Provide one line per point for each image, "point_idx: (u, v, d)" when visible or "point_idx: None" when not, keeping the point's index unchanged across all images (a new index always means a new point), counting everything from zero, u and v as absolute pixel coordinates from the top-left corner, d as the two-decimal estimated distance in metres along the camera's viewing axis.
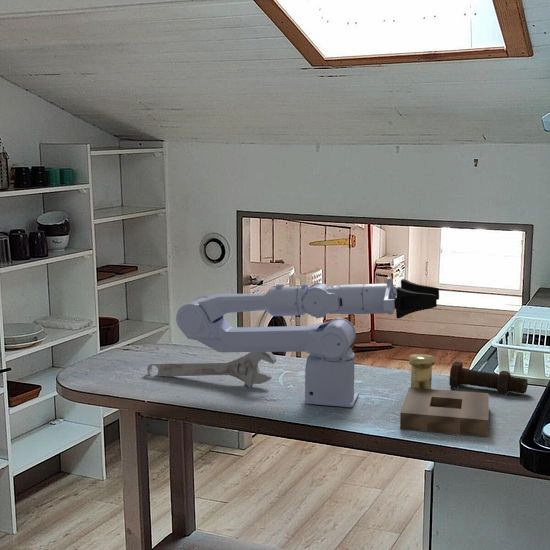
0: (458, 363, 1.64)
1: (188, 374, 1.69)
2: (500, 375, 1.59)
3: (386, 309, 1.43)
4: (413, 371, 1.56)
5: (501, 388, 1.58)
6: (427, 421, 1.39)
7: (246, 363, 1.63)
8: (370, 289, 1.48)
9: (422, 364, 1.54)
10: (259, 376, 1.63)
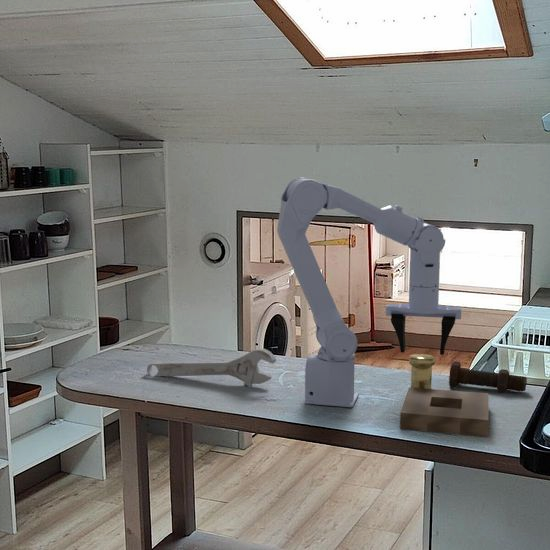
0: (457, 363, 1.64)
1: (188, 374, 1.69)
2: (500, 374, 1.60)
3: None
4: (413, 371, 1.56)
5: (501, 387, 1.59)
6: (427, 421, 1.39)
7: (246, 363, 1.64)
8: None
9: (422, 364, 1.54)
10: (258, 375, 1.63)
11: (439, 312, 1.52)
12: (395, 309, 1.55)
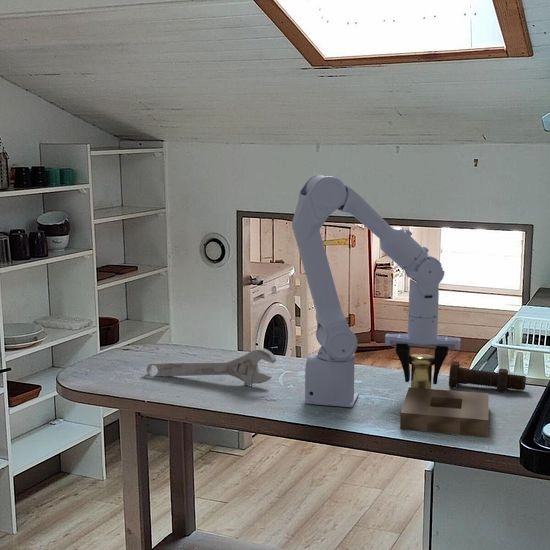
0: (456, 363, 1.64)
1: (188, 374, 1.69)
2: (500, 373, 1.60)
3: (459, 342, 1.54)
4: (413, 371, 1.56)
5: (501, 386, 1.60)
6: (427, 421, 1.39)
7: (246, 363, 1.64)
8: None
9: (422, 364, 1.54)
10: (258, 375, 1.63)
11: (438, 343, 1.53)
12: (394, 339, 1.56)
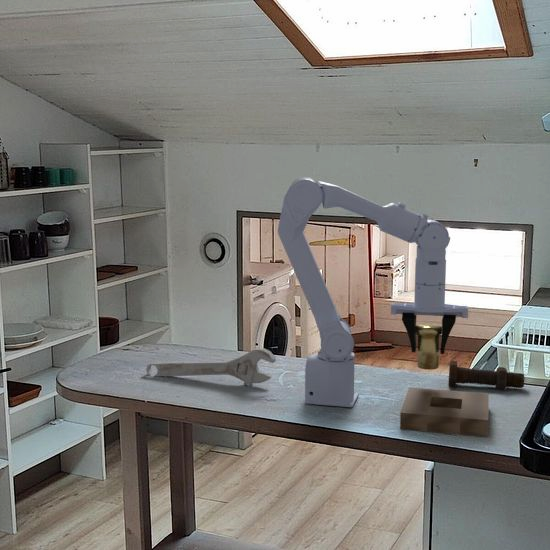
0: (455, 362, 1.64)
1: (187, 374, 1.69)
2: (499, 371, 1.61)
3: None
4: (420, 341, 1.52)
5: (501, 384, 1.61)
6: (427, 421, 1.39)
7: (246, 363, 1.64)
8: None
9: (429, 333, 1.50)
10: (258, 375, 1.64)
11: (446, 311, 1.49)
12: (401, 308, 1.52)
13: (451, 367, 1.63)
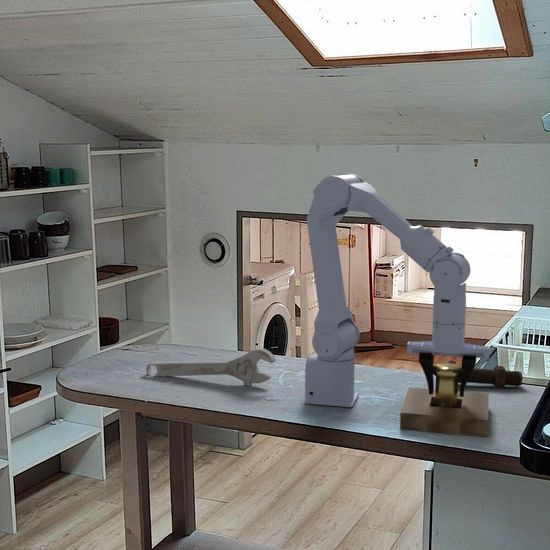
0: (453, 362, 1.65)
1: (187, 374, 1.69)
2: (498, 370, 1.62)
3: None
4: (438, 383, 1.43)
5: (500, 383, 1.62)
6: (427, 421, 1.39)
7: (245, 363, 1.64)
8: None
9: (448, 376, 1.42)
10: (258, 375, 1.64)
11: (465, 351, 1.40)
12: (417, 347, 1.43)
13: None
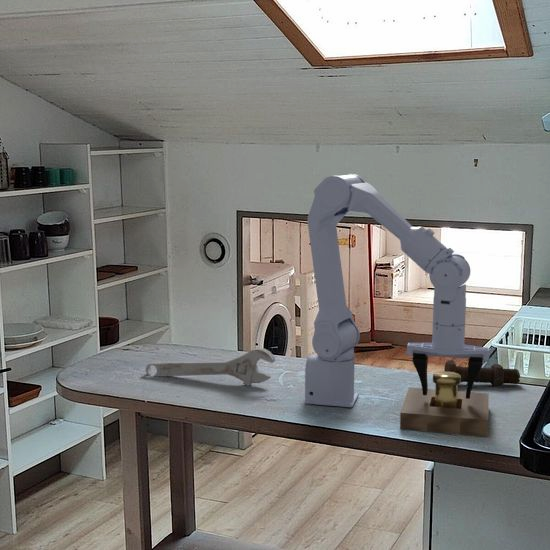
0: (452, 362, 1.65)
1: (187, 374, 1.69)
2: (496, 369, 1.63)
3: None
4: (437, 390, 1.44)
5: (499, 381, 1.63)
6: (427, 421, 1.39)
7: (245, 362, 1.64)
8: None
9: (448, 383, 1.42)
10: (257, 375, 1.64)
11: (465, 353, 1.40)
12: (417, 349, 1.43)
13: (450, 367, 1.63)
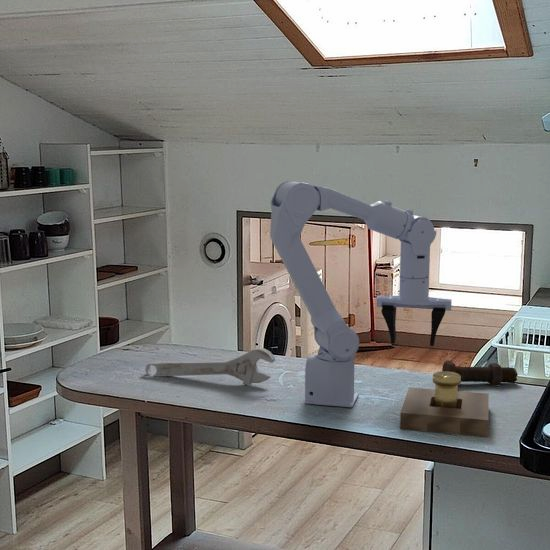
0: (450, 362, 1.65)
1: (187, 374, 1.69)
2: (494, 368, 1.64)
3: None
4: (438, 391, 1.44)
5: (497, 380, 1.64)
6: (427, 421, 1.39)
7: (245, 362, 1.64)
8: None
9: (448, 383, 1.42)
10: (257, 375, 1.64)
11: (429, 303, 1.54)
12: (386, 300, 1.56)
13: (450, 367, 1.63)
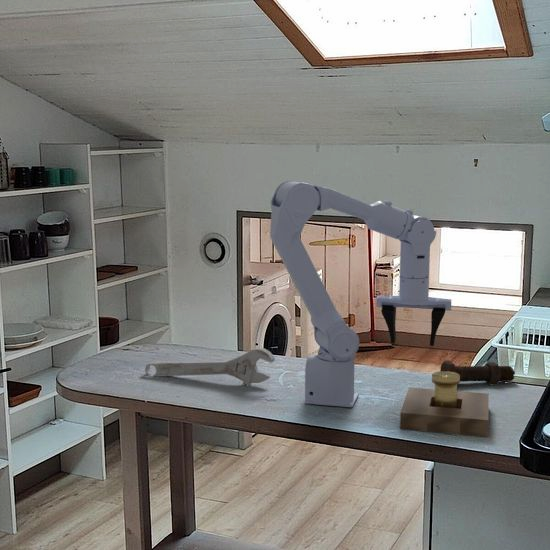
0: (449, 362, 1.65)
1: (186, 373, 1.69)
2: (493, 366, 1.65)
3: None
4: (437, 391, 1.44)
5: (496, 379, 1.64)
6: (427, 421, 1.39)
7: (244, 362, 1.64)
8: None
9: (447, 383, 1.42)
10: (257, 375, 1.64)
11: (429, 303, 1.54)
12: (386, 300, 1.56)
13: (449, 367, 1.63)
